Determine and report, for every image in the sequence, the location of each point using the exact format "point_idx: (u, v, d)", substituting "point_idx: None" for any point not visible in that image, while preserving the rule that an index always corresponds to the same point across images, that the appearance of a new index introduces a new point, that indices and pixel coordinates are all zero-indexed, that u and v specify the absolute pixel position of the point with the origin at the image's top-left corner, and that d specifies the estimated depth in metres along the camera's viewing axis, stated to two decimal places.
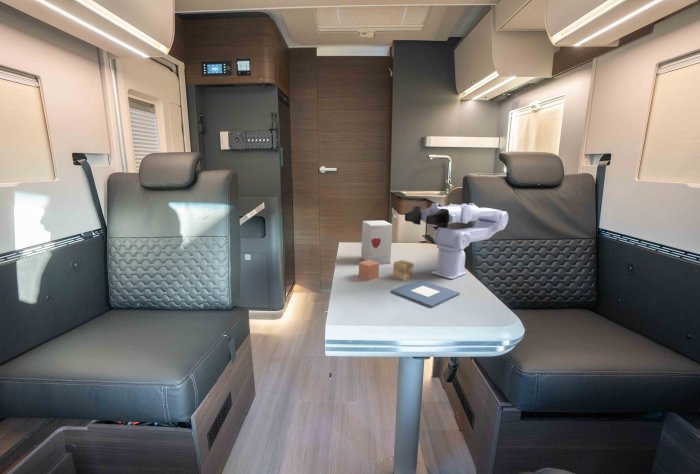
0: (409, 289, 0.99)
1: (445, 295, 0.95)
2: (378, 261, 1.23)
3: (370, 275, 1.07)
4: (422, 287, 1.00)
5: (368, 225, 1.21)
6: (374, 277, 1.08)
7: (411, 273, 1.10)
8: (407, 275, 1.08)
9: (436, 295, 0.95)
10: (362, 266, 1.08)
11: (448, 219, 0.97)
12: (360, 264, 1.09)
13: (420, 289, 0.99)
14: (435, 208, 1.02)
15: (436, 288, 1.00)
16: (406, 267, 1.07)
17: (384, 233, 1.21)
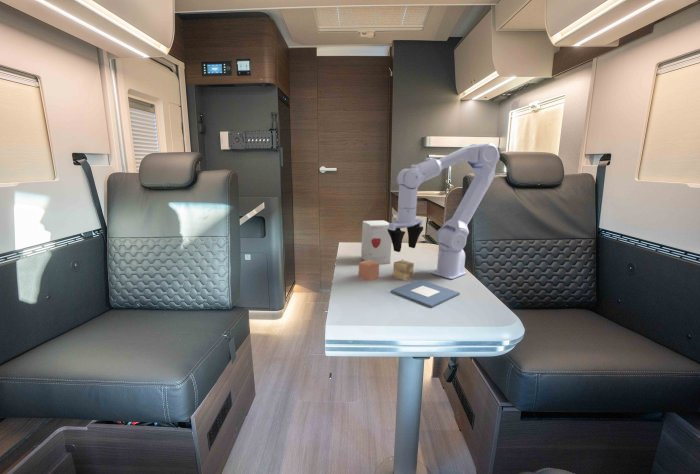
0: (409, 289, 0.99)
1: (445, 295, 0.95)
2: (378, 261, 1.23)
3: (370, 275, 1.07)
4: (422, 287, 1.00)
5: (368, 225, 1.21)
6: (374, 277, 1.08)
7: (411, 273, 1.10)
8: (407, 275, 1.08)
9: (436, 295, 0.95)
10: (362, 266, 1.08)
11: None
12: (360, 264, 1.09)
13: (420, 289, 0.99)
14: None
15: (436, 288, 1.00)
16: (406, 267, 1.07)
17: (384, 233, 1.21)
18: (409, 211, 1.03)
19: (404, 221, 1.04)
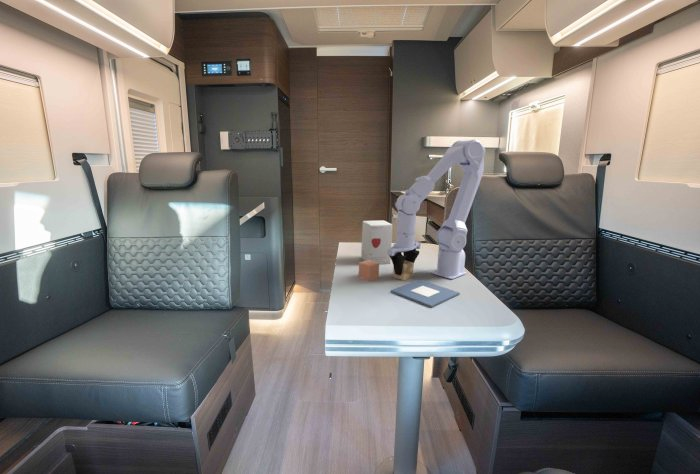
0: (409, 289, 0.99)
1: (445, 295, 0.95)
2: (378, 261, 1.23)
3: (370, 275, 1.07)
4: (422, 287, 1.00)
5: (368, 225, 1.21)
6: (374, 277, 1.08)
7: (411, 273, 1.10)
8: (407, 275, 1.08)
9: (436, 295, 0.95)
10: (362, 266, 1.08)
11: (394, 255, 1.06)
12: (360, 264, 1.09)
13: (420, 289, 0.99)
14: None
15: (436, 288, 1.00)
16: (406, 267, 1.07)
17: (384, 233, 1.21)
18: (407, 236, 1.05)
19: (402, 246, 1.06)
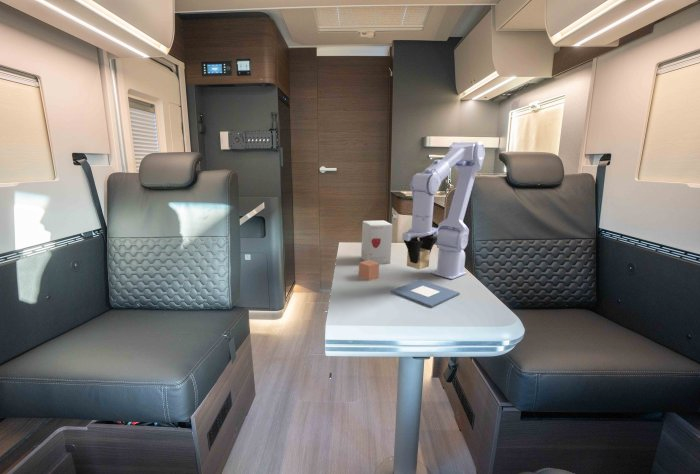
0: (409, 289, 0.99)
1: (445, 295, 0.95)
2: (378, 261, 1.23)
3: (370, 275, 1.07)
4: (422, 287, 1.00)
5: (368, 225, 1.21)
6: (374, 277, 1.08)
7: (427, 261, 0.99)
8: (423, 263, 0.98)
9: (436, 295, 0.95)
10: (362, 266, 1.08)
11: (410, 240, 0.95)
12: (360, 264, 1.09)
13: (420, 289, 0.99)
14: None
15: (436, 288, 1.00)
16: (422, 255, 0.97)
17: (384, 233, 1.21)
18: (425, 220, 0.94)
19: (419, 231, 0.95)
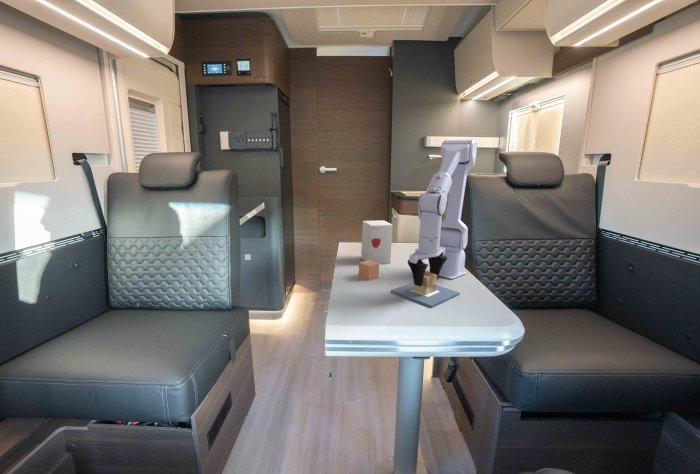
0: (409, 289, 0.99)
1: (445, 295, 0.95)
2: (378, 261, 1.23)
3: (370, 275, 1.07)
4: None
5: (368, 225, 1.21)
6: (374, 277, 1.08)
7: (434, 286, 0.97)
8: (430, 289, 0.95)
9: (436, 295, 0.95)
10: (362, 266, 1.08)
11: (414, 263, 0.91)
12: (360, 264, 1.09)
13: None
14: None
15: (436, 288, 1.00)
16: (429, 280, 0.94)
17: (384, 233, 1.21)
18: (432, 241, 0.91)
19: (426, 252, 0.92)
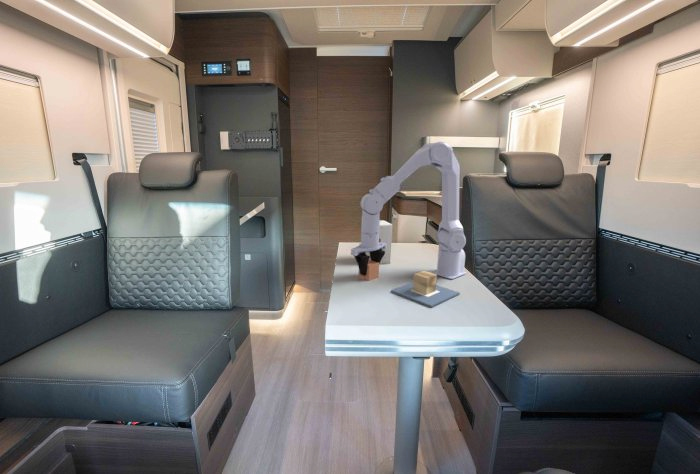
0: (409, 289, 0.99)
1: (445, 295, 0.95)
2: None
3: (370, 275, 1.07)
4: None
5: None
6: (374, 277, 1.08)
7: (434, 286, 0.97)
8: (430, 289, 0.95)
9: (436, 295, 0.95)
10: None
11: (358, 255, 1.05)
12: None
13: None
14: None
15: (436, 288, 1.00)
16: (429, 280, 0.94)
17: (384, 233, 1.21)
18: (371, 236, 1.04)
19: (366, 246, 1.05)
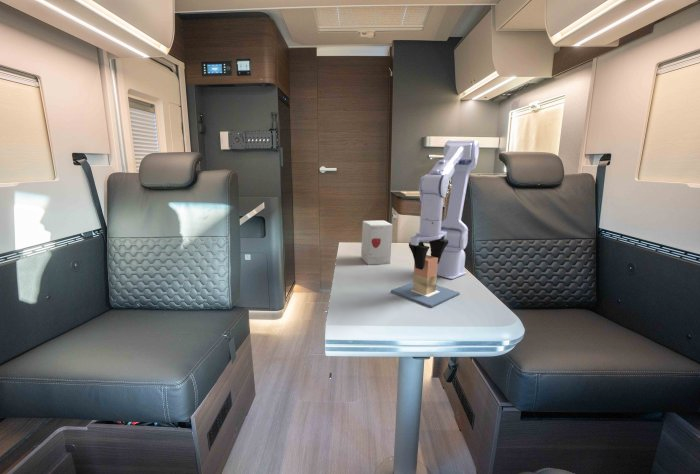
0: (409, 289, 0.99)
1: (445, 295, 0.95)
2: (378, 261, 1.23)
3: (429, 271, 0.94)
4: None
5: (368, 225, 1.21)
6: (432, 274, 0.95)
7: (434, 286, 0.97)
8: (429, 289, 0.95)
9: (436, 295, 0.95)
10: None
11: (416, 245, 0.90)
12: None
13: None
14: None
15: (436, 288, 1.00)
16: (429, 280, 0.94)
17: (384, 233, 1.21)
18: (434, 223, 0.90)
19: (428, 235, 0.91)
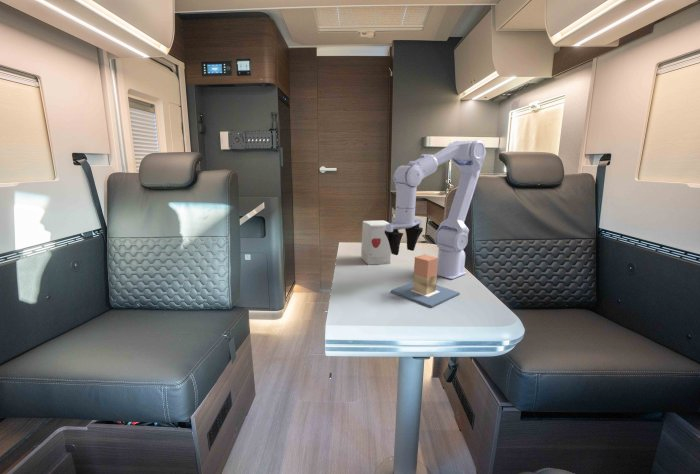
0: (409, 289, 0.99)
1: (445, 295, 0.95)
2: (378, 261, 1.23)
3: (429, 271, 0.94)
4: None
5: (368, 225, 1.21)
6: (432, 274, 0.95)
7: (434, 286, 0.97)
8: (429, 289, 0.95)
9: (436, 295, 0.95)
10: (419, 261, 0.95)
11: (390, 232, 0.96)
12: (416, 259, 0.95)
13: None
14: None
15: (436, 288, 1.00)
16: (429, 280, 0.94)
17: (384, 233, 1.21)
18: (407, 211, 0.96)
19: (402, 222, 0.97)
